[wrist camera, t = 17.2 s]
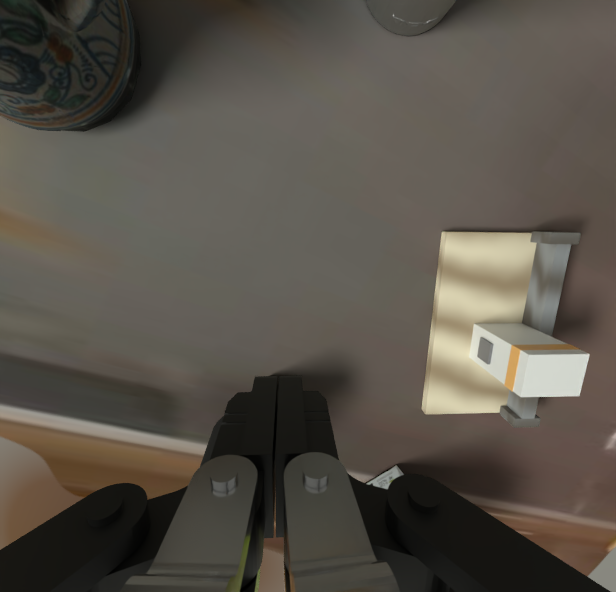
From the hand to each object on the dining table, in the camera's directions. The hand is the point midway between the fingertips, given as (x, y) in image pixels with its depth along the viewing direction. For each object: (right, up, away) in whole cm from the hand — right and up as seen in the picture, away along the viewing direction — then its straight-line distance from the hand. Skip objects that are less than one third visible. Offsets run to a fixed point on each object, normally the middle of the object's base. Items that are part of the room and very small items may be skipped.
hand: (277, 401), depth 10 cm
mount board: (+23, 0, +29) cm, 37 cm away
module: (+24, -2, +29) cm, 37 cm away
